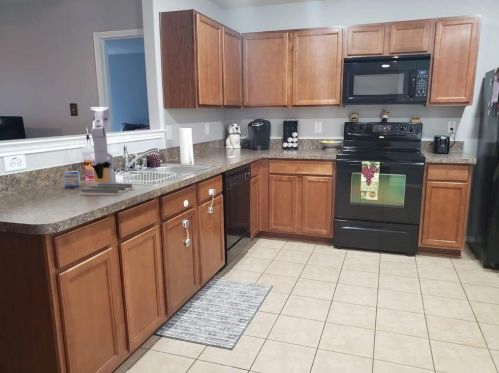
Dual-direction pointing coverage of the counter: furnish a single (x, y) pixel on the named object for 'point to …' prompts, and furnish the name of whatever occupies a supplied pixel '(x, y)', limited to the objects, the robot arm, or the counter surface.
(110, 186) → the slot rack
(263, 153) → the counter surface
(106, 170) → the orange block
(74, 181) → the medicine box
